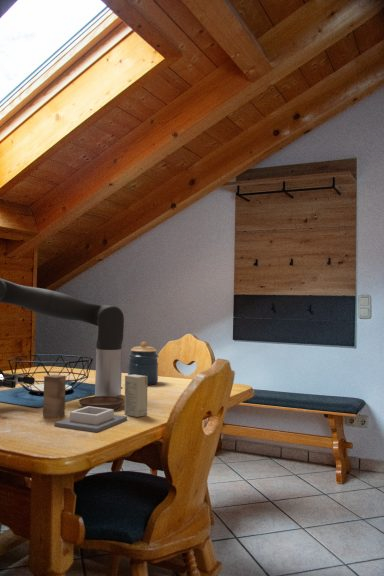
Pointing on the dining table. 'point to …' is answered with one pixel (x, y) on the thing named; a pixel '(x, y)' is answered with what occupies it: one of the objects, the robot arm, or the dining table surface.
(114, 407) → the saucer
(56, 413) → the walnut square peg
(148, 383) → the canister
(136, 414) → the skincare box
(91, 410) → the collar holder
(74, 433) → the dining table surface
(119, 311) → the robot arm
